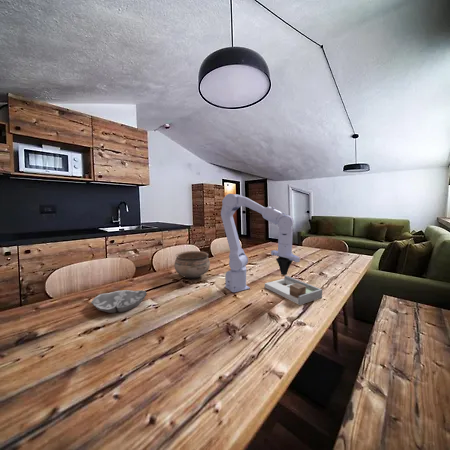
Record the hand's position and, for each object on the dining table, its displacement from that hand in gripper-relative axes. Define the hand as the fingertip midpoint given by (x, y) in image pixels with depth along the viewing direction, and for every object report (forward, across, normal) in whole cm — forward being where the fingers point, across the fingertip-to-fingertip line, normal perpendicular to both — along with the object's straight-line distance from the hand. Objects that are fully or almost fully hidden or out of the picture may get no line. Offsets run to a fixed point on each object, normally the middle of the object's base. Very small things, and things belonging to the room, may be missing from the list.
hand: (283, 274), depth 94 cm
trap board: (+9, +1, -6) cm, 11 cm away
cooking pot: (+10, +42, +25) cm, 50 cm away
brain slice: (+10, +26, +62) cm, 68 cm away
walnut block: (+7, -6, -2) cm, 10 cm away
